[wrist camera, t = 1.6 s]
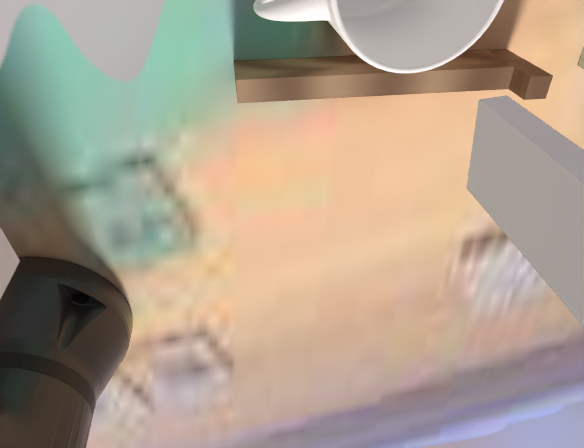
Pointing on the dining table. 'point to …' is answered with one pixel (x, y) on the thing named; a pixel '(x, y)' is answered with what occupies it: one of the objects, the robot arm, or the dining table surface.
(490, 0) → the mug
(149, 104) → the dining table surface
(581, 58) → the end stop
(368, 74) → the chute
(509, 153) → the robot arm
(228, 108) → the dining table surface
